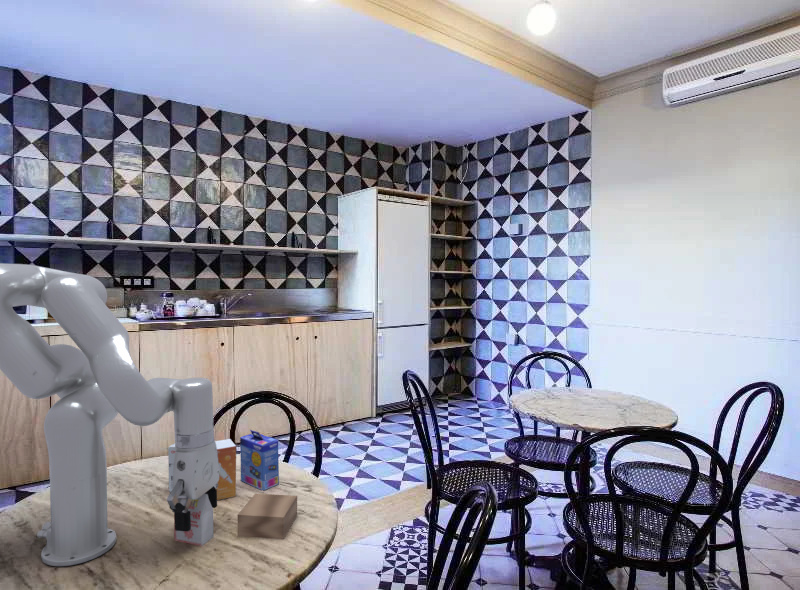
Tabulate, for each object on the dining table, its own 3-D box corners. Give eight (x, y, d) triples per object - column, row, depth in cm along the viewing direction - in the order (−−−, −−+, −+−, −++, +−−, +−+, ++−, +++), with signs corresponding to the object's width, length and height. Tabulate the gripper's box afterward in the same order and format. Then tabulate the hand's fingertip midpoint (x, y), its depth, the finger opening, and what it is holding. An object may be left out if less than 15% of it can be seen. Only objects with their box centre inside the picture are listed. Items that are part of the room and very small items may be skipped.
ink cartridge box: (238, 481, 131) (238, 428, 130) (255, 474, 135) (256, 423, 134) (262, 491, 125) (262, 436, 124) (279, 484, 129) (279, 430, 129)
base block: (237, 537, 104) (237, 514, 103) (255, 514, 114) (255, 493, 113) (283, 540, 103) (283, 517, 103) (297, 516, 113) (297, 495, 113)
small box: (202, 504, 118) (202, 451, 117) (197, 494, 123) (196, 443, 122) (236, 496, 122) (236, 445, 121) (230, 487, 127) (230, 438, 127)
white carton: (186, 531, 105) (186, 486, 105) (213, 536, 103) (213, 490, 103) (174, 540, 102) (174, 493, 101) (201, 546, 100) (201, 498, 99)
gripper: (185, 454, 93) (188, 542, 93) (232, 425, 110) (234, 500, 110) (150, 452, 94) (153, 539, 95) (201, 424, 111) (204, 498, 112)
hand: (197, 518), depth 103 cm, fingers open, 9 cm apart
